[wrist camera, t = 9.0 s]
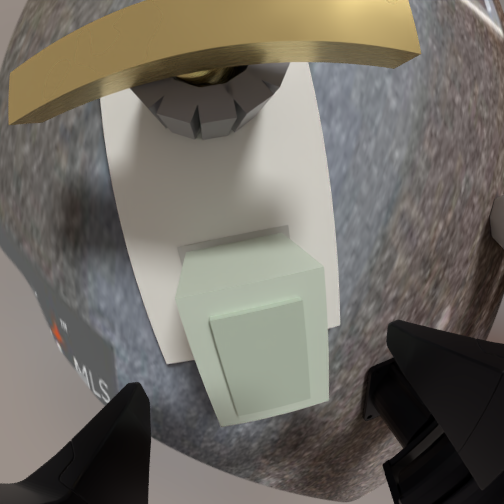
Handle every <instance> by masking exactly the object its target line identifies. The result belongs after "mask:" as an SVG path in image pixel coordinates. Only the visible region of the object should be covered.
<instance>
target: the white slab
mask: <svg viewBox="0 0 504 504" xmlns="http://www.w3.org/2000/svg"><path fill="white" fill-rule="evenodd" d="M238 68H239V71H240V74H239V75H238V76H236V77H235V78H233V79H232V80H230V81H229V82H227V83H225V84H218V85H212V86H206V87H196V86H193V85H189V84H187V83H186V82H184V81H182V80H180V79H179V78H177V77H175V76H174V77H170V78H165V79H161V80H157V81H153V82H149V83H146V84H142V85H139V86H135V87H132V88H128V89H125V90H122V91H119V92H116V93H113V94H110V95H107V96H104V97H101V98H100V102H101V112H102V122H103V130H104V138H105V145H106V152H107V158H108V164H109V170H110V175H111V181H112V186H113V191H114V196H115V201H116V205H117V210H118V214H119V219H120V223H121V227H122V231H123V235H124V239H125V243H126V246H127V250H128V254H129V257H130V261H131V264H132V268H133V271H134V274H135V278H136V281H137V284H138V287H139V290H140V293H141V296H142V299H143V302H144V305H145V308H146V311H147V314H148V317H149V320H150V322H151V325H152V328H153V330H154V333H155V336H156V338H157V341H158V344H159V346H160V349H161V351H162V354H163V356H164V358H165V361H166V363H167V364H171V363H178V362H184V361H190V360H195V359H194V356H193V353H192V350H191V347H190V345H189V342H188V339H187V336H186V333H185V330H184V326H183V323H182V320H181V317H180V314H179V311H178V307H177V304H176V301H175V296H176V291H177V287H178V283H179V279H180V275H181V270H182V266H183V262H184V258H185V254H186V252H190V251H194V250H199V249H204V248H209V247H214V246H218V245H223V244H228V243H233V242H238V241H243V240H248V239H253V238H258V237H263V236H268V235H273V234H278V233H283V234H284V235H285V236H287V237H288V238H289V239H291V240H292V241H293V242H294V243H296V244H297V245H298V246H299V247H301V248H302V249H303V250H304V251H306V252H307V253H308V254H309V255H310V256H312V257H313V258H314V259H315V260H317V261H318V262H319V263H320V264H322V265H323V266H324V273H325V287H326V303H327V323H328V329H329V328H332V327H336V326H339V325H340V300H339V278H338V261H337V247H336V235H335V224H334V214H333V205H332V196H331V188H330V180H329V172H328V165H327V159H326V152H325V146H324V139H323V134H322V128H321V122H320V117H319V111H318V106H317V101H316V96H315V91H314V87H313V82H312V78H311V73H310V69H309V65H308V62H283V63H264V64H252V65H241V66H238Z"/></svg>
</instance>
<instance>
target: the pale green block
mask: <svg viewBox="0 0 504 504" xmlns="http://www.w3.org/2000/svg"><path fill="white" fill-rule="evenodd" d="M175 301H176V304H177V307H178V311H179V314H180V317H181V320H182V323H183V326H184V330H185V333H186V336H187V339H188V342H189V345H190V347H191V350H192V353H193V356H194V359H195V362H196V364H197V367H198V370H199V373H200V375H201V378H202V381H203V383H204V386H205V389H206V391H207V394H208V396H209V399H210V401H211V404H212V406H213V409H214V411H215V414H216V416H217V418H218V421H219V423H220V425H221V427H224V426H230V425H235V424H241V423H246V422H251V421H255V420H260V419H264V418H269V417H273V416H277V415H281V414H285V413H289V412H292V411H296V410H300V409H303V408H306V407H310V406H313V405H316V404H319V403H323V402H326V401H329V352H328V323H327V303H326V287H325V273H324V266H323V265H322V264H320V263H319V262H318V261H317V260H315V259H314V258H313V257H312V256H310V255H309V254H308V253H307V252H306V251H304V250H303V249H302V248H301V247H299V246H298V245H297V244H296V243H294V242H293V241H292V240H291V239H289V238H288V237H287V236H285V235H284V234H283V233H278V234H273V235H268V236H263V237H258V238H253V239H248V240H243V241H238V242H233V243H228V244H223V245H218V246H214V247H209V248H204V249H199V250H194V251H190V252H186V254H185V258H184V262H183V266H182V270H181V275H180V279H179V283H178V287H177V291H176V296H175Z"/></svg>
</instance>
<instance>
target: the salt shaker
mask: <svg viewBox="0 0 504 504" xmlns="http://www.w3.org/2000/svg"><path fill="white" fill-rule="evenodd" d="M490 225H491V234H492V237H493V238H494V239H495V240H496V241H497V242H498V244H499V245H500V246H501V247H502V248H503V249H504V195H502V196H500V197H498V198H496V199H495V200H494V204H493V208H492V211H491V215H490Z"/></svg>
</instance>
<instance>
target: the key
mask: <svg viewBox="0 0 504 504" xmlns="http://www.w3.org/2000/svg"><path fill="white" fill-rule="evenodd" d="M420 54H421V51H420V45H419V41H418V36H417V32H416V27H415V23H414V19H413V16H412V12H411V8H410V5H409V2H408V0H146V1H143V2H140V3H137V4H134V5H131V6H129V7H126V8H124V9H121V10H118V11H116V12H114V13H111V14H109V15H107V16H104V17H102V18H100V19H98V20H96V21H94V22H91V23H89V24H87V25H85V26H83V27H81V28H80V29H78V30H76V31H74V32H72V33H70V34H68V35H67V36H65V37H63V38H61V39H60V40H58V41H56V42H55V43H53V44H51V45H50V46H48V47H47V48H45V49H43V50H42V51H40V52H39V53H37V54H36V55H34V56H33V57H31V58H30V59H29V60H27V61H26V62H24V63H23V64H22V65H20V66H19V67H18V68H16V69H15V70H14V71H12V72H11V73H10V82H9V125H16V124H27V123H42V122H45V121H47V120H49V119H51V118H53V117H55V116H57V115H59V114H62V113H64V112H66V111H68V110H71V109H73V108H75V107H78V106H80V105H83V104H85V103H88V102H90V101H93V100H96V99H98V98H101V97H104V96H107V95H110V94H113V93H116V92H119V91H122V90H125V89H128V88H132V87H135V86H139V85H142V84H146V83H149V82H153V81H157V80H161V79H165V78H170V77H174V76H175V77H177V78H179V79H180V80H182V81H184V82H186V83H187V84H189V85H193V86H196V87H206V86H212V85H218V84H225V83H227V82H229V81H230V80H232V79H233V78H235V77H236V76H238V75H239V74H240V71H239V68H238V66H241V65H252V64H264V63H283V62H330V63H348V64H360V65H370V66H379V67H386V68H393V69H394V68H396V67H398V66H400V65H402V64H403V63H405V62H407V61H409V60H411V59H413V58H415V57H417V56H418V55H420Z"/></svg>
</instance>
